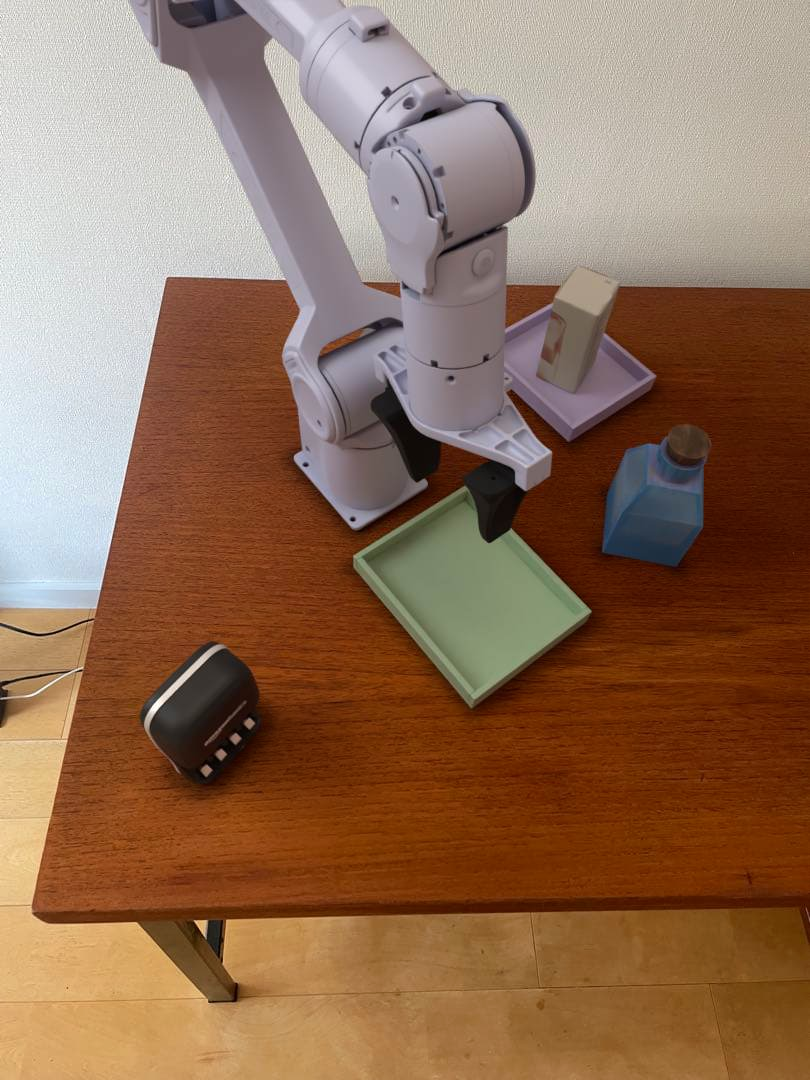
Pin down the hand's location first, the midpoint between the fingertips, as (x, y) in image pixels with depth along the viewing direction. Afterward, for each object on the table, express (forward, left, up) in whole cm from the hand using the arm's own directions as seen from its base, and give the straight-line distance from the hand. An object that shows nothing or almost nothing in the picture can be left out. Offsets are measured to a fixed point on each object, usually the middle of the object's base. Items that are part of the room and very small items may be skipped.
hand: (459, 502), depth 56 cm
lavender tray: (-11, +24, -11) cm, 28 cm away
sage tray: (+2, +1, -11) cm, 11 cm away
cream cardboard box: (-11, +24, -11) cm, 28 cm away
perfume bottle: (+6, +17, -11) cm, 21 cm away
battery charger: (+1, -21, -11) cm, 24 cm away
